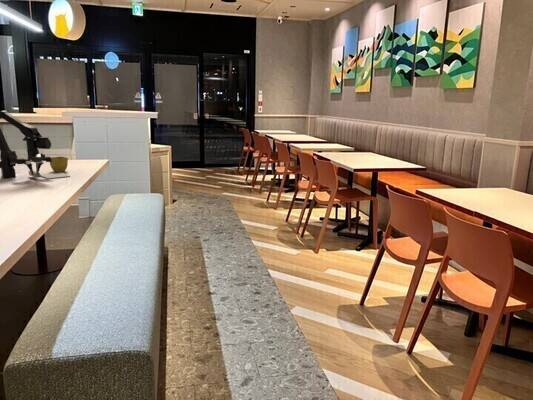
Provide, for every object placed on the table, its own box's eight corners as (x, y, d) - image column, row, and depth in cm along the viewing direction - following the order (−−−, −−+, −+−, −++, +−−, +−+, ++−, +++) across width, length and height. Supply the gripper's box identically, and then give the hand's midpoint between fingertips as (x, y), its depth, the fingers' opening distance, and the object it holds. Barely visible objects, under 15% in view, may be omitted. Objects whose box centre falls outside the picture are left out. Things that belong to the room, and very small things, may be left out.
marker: (35, 177, 256) (35, 173, 256) (29, 174, 265) (28, 170, 264) (40, 177, 258) (40, 173, 257) (33, 174, 267) (33, 170, 266)
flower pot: (56, 172, 280) (54, 159, 278) (49, 171, 286) (48, 157, 283) (69, 171, 287) (68, 157, 285) (62, 169, 292) (61, 156, 290)
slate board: (47, 179, 259) (47, 178, 259) (39, 175, 269) (39, 174, 269) (70, 176, 268) (69, 175, 268) (60, 173, 278) (60, 172, 278)
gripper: (19, 150, 245) (22, 178, 248) (54, 148, 258) (56, 174, 261) (13, 149, 253) (16, 175, 256) (47, 147, 265) (49, 172, 269)
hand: (35, 174), depth 260 cm, fingers closed on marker, 2 cm apart
